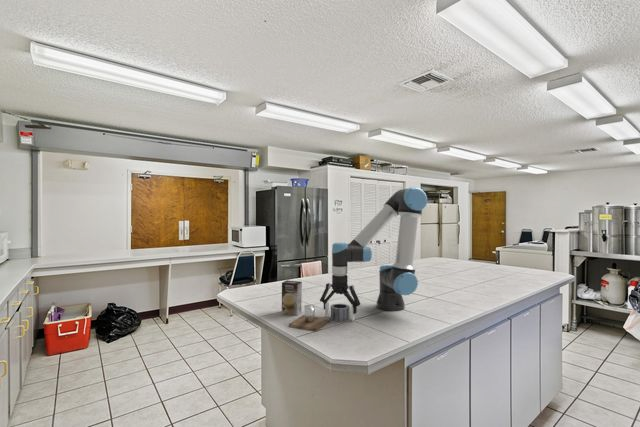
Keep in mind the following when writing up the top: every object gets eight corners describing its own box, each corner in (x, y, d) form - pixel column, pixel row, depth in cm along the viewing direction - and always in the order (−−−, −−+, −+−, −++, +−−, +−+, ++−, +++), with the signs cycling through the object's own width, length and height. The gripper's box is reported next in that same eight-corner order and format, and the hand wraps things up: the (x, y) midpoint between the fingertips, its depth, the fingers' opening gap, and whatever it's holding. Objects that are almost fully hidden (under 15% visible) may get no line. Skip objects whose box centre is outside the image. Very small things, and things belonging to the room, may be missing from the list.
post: (316, 320, 145) (316, 305, 145) (311, 323, 141) (311, 308, 141) (307, 319, 147) (307, 304, 147) (303, 322, 143) (303, 306, 143)
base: (329, 321, 148) (329, 318, 148) (316, 331, 135) (316, 328, 135) (303, 317, 154) (303, 315, 154) (288, 326, 141) (288, 323, 141)
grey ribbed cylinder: (351, 317, 154) (351, 304, 154) (345, 322, 146) (345, 309, 146) (335, 314, 158) (334, 302, 158) (327, 320, 150) (327, 307, 150)
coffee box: (280, 313, 159) (280, 282, 160) (286, 310, 166) (286, 280, 166) (297, 315, 156) (297, 283, 157) (302, 312, 163) (302, 281, 163)
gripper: (366, 275, 150) (366, 319, 150) (319, 271, 161) (319, 312, 160) (362, 278, 143) (362, 324, 143) (313, 273, 154) (313, 316, 154)
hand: (339, 318), depth 152 cm, fingers open, 13 cm apart
